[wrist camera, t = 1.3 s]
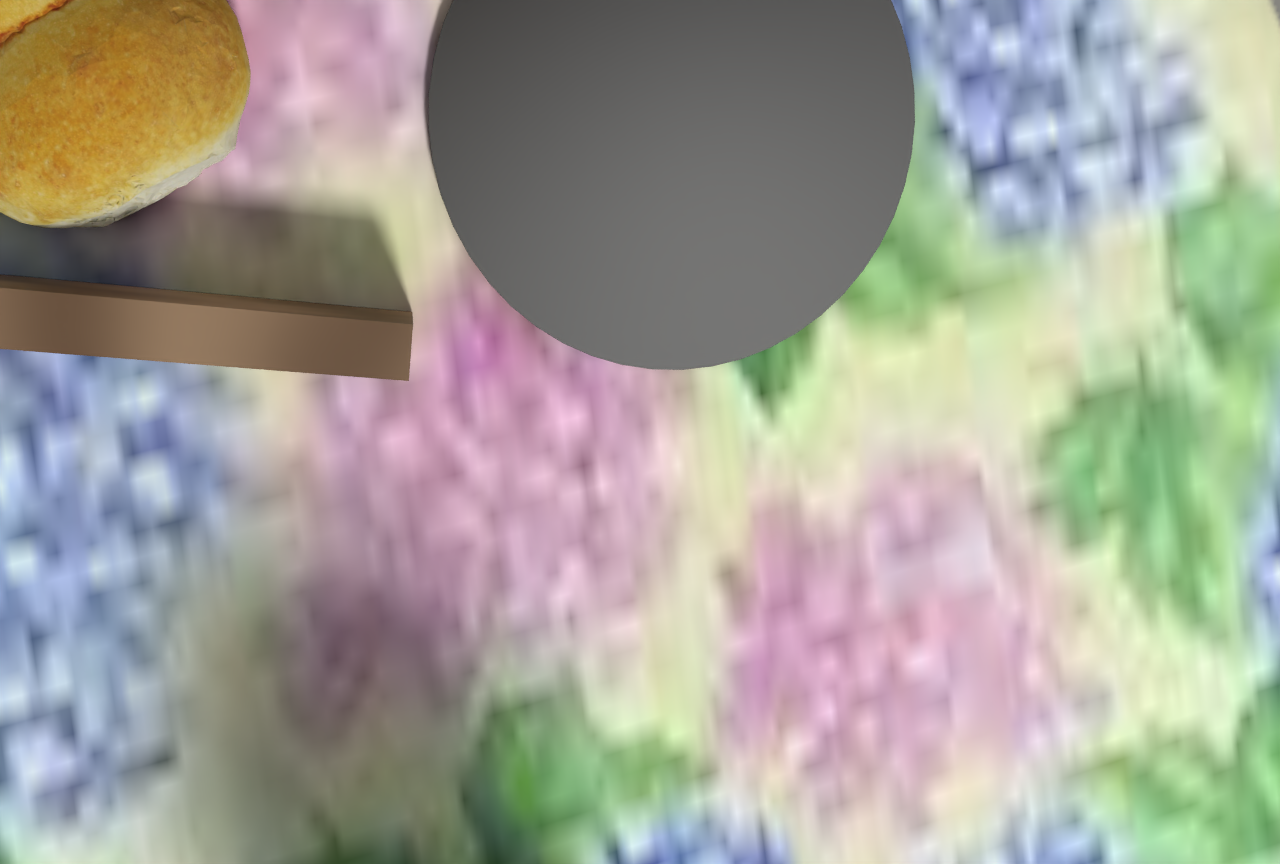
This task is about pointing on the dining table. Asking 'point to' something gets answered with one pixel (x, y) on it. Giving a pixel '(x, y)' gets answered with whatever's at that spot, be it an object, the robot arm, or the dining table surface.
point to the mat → (671, 163)
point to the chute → (203, 328)
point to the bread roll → (113, 104)
